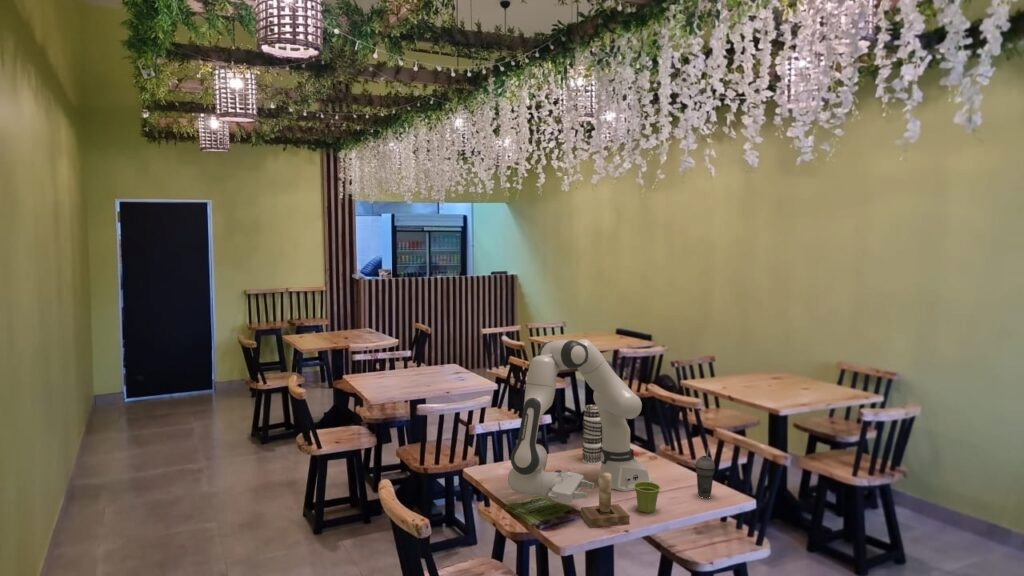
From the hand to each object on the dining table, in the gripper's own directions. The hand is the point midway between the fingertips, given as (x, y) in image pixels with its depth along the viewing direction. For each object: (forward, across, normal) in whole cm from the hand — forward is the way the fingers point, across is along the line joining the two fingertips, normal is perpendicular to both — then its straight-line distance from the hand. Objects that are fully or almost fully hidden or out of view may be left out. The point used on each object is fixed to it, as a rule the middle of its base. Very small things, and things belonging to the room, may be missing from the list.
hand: (590, 490), depth 222 cm
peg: (+5, 0, +10) cm, 11 cm away
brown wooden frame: (+5, 0, +10) cm, 11 cm away
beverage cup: (+36, +34, +10) cm, 51 cm away
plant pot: (+18, +14, +10) cm, 24 cm away
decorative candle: (-12, +59, +10) cm, 61 cm away
